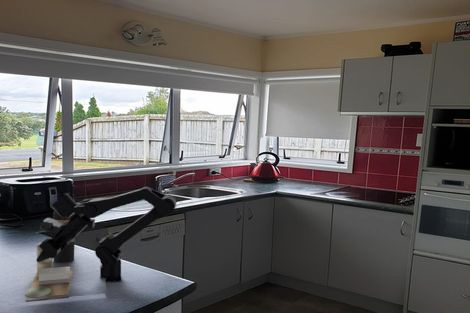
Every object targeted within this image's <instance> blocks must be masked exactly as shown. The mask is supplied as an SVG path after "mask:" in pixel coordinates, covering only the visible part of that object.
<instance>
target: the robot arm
mask: <svg viewBox="0 0 470 313" xmlns="http://www.w3.org/2000/svg"><path fill="white" fill-rule="evenodd" d="M143 200H144V201H145V202H147V203H148V204H150V205H151V206H152V208H151V209H150V210H148V212H147V211H146V213H145V214H143V215H142V216H140V217H138V219H136V220H135V221H133V222H132V223H130V224H129V225H128V226H126V228H124V229H122V230H121V231H120V232H117V233H116V234H114V233H113V232H109V234H108V235H107V236H105V237H102V238H101V240H99V242H98V243H97V246H96V248H95V251H94V252H95V253H94V254H95V256H96V258H98V259H99V261H100V262H99V263H100V266H99V268H100V269H99V270H100V273H99V274H100V275H99V277H100V279H105V283H115V282H121V281H122V261H121V260H122V259H121V257H122V255H123V251H122V250H120V248H121V247H122V246H123V244H125V243H126V242H128V241H129V240H130V239H132V238H133V237H135V236H136V235H138V234H139V233H140V232H141V231H143V230H145V228H147V227H148V226H150V225H151V224H152V223H154V222H156V221H158V220H160V219H163V218H165V217H168V216H169V215H171V214H173V213H174V211H175V209H176V206H177V201H176V198H175V197H174V196H173V195H170V194H164V193H162V192H159V191H157V190H154V189H153V188H152V187H151V188H150V187H149V186H144V187H142V188H139V189H135V190H131V191H129V192H126V193H125V192H124V193H122V194H118V195H114V196H111V197H98V198H97V197H96V198H92V199H90V200H89V201H86V202H80V203H77V202H76V201H75V199H73V198H72V196H71V195H70V194H69V193H67V192H66V193H65V194H63V195H62V196H61V197H59V199H57V200H56V201H54V202H53V204H52V205H51V206H50V207H51V209H52V210H54V211H56V212H57V213H58V214H59V215H60V216H61V217H62V218H66V217H67V218H69V217H70V216H71V215H72V214H73V213H74V216H73V217H72V218H71V219H70V220H68V221H67V222H65V223H64V224H61V223H60V222H58V221H55V220H53V218H51V217H47V218H45V219H44V220H43V221H42V223H40V227H39V229H40V230H41V231H44V232H47V233H50V234H51V235H50V237H51V238H46V239H45V240H43V241H42V242H40V243H41V244H40V245H39V247H40V248H41V249H42V252H41V253H40V255H39V256H38V258H37V257H36V263H37V262H40V261H43V260H46V259H48V258H52V259H54V257H55V256H56V255H57V254H59V253H60V252H61V250H62V249H64V248H65V247H66V246H67V245H69V244H70V243H71V242H72V241H73V240H74V238H76V237H77V236H78V235H79V234H80V233H81V232H83V230H85V229H86V228H87V227H89V228H90V229H91V230H92V229H93V228H94V227H95V226H96V222H95V221H96V219H95V218H97V217H99V216H101V215H103V214H105V213H107V212H108V211H111V210H113V209H117V208H120V207H123V206H127V205H131V204H134V203H137V202H140V201H143Z"/></svg>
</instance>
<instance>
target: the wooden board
mask: <svg viewBox="0 0 470 313" xmlns="http://www.w3.org/2000/svg"><path fill="white" fill-rule="evenodd" d="M73 274H74V269H70V280H69V283H64V284H52V285H41V286H39V278H38V277H37V272H36V273H35V275H34V277H33V280H32V282H31V285H30V287H29V289H28V290H26V291H25V296H26V297H25V299H28V300H25V303H29V302H31V303H32V302H42V301H50V300H52V301H53V300H63V299H70V296H66V295H70V289H71V284H72V279H73ZM53 296H54V297H53ZM57 296H58V297H57ZM44 297H46V298H44ZM33 298H36V299H33Z"/></svg>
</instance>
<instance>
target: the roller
mask: <svg viewBox="0 0 470 313" xmlns="http://www.w3.org/2000/svg"><path fill="white" fill-rule="evenodd" d="M41 243H42V242H38V243H37V244H36V259H37V258H38V256H39V255H40V253H41V252H42V249H41V248H40V247H39V245H40V244H41ZM43 268H53V258H48V259H46V260H43V261H40V262H37V261H36V273H37V277H38V278H39V273H40V270H41V269H43Z"/></svg>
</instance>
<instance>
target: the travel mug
mask: <svg viewBox="0 0 470 313" xmlns="http://www.w3.org/2000/svg"><path fill="white" fill-rule="evenodd" d="M74 215H75V212H74V213H73V214H72V215H71V216H70V217H69V218H67V217H66V218H62V217H61V216H60V215H59V214H58V213H57V212H56V211H55V210H54V211H53V214H52V216H53V217H52V219H53V220H55V221H58V222H60V223H61V224H64V223H65V222H67V221H68V220H70V219H71V218H72V217H73V216H74ZM75 238H76V237H75ZM75 238H74V240H73V241H72V242H71V243H70V244H69V245H67V246H66V247H65V248H64V249H62V250H61V252H60V253H59V254H57V255H56V256H55V257H54V258H53V263H57V264H67V263H71V262H73V261H74V260H75V245H76V244H75V243H76V242H75V241H76V239H75Z"/></svg>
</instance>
